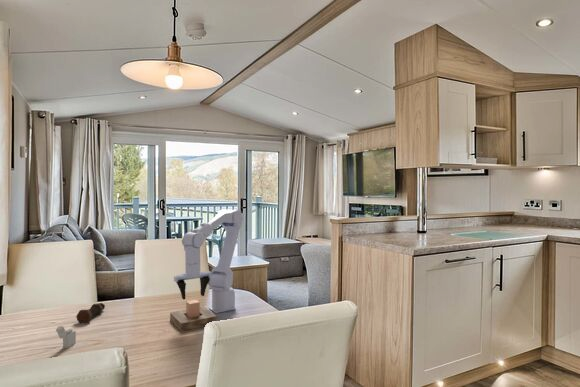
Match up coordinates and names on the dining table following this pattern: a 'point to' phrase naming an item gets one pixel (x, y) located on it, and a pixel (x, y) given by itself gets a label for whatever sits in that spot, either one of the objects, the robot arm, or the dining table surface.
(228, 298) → the robot arm
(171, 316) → the slot block
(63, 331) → the grey thin upright piece
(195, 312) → the peg
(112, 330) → the dining table surface
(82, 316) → the dark brown elongated piece
